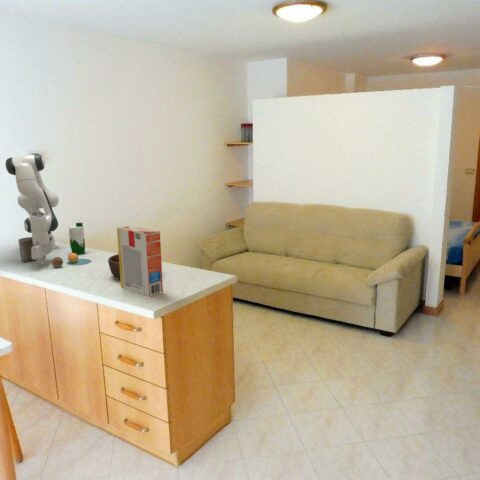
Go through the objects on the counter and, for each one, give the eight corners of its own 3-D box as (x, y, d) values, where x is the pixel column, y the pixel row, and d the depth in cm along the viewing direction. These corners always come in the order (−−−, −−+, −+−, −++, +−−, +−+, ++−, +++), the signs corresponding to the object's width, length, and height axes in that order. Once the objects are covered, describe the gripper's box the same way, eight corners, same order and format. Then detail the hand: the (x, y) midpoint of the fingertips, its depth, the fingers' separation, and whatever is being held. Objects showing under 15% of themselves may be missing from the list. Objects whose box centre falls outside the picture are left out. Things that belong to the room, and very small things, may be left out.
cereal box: (162, 292, 219) (159, 231, 213) (149, 296, 213) (145, 233, 207) (134, 283, 234) (130, 225, 228) (120, 287, 228) (116, 228, 222)
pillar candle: (41, 258, 286) (38, 235, 283) (32, 262, 277) (29, 238, 274) (26, 258, 287) (23, 235, 284) (17, 262, 278) (14, 238, 275)
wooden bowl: (145, 283, 234) (144, 264, 231) (100, 281, 239) (99, 262, 236) (163, 270, 258) (162, 252, 255) (122, 268, 262) (121, 250, 260)
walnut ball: (63, 259, 263) (66, 262, 269) (55, 253, 264) (57, 256, 269) (56, 268, 261) (59, 270, 267) (48, 262, 262) (51, 264, 267)
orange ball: (69, 250, 276) (79, 253, 278) (66, 260, 276) (76, 262, 279) (69, 253, 270) (79, 255, 272) (66, 263, 271) (77, 265, 273)
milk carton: (86, 254, 296) (83, 223, 292) (71, 255, 293) (68, 225, 289) (84, 251, 304) (82, 221, 300) (70, 252, 301) (67, 222, 296)
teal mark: (66, 260, 280) (66, 260, 280) (90, 258, 285) (90, 258, 285) (67, 266, 268) (67, 265, 267) (92, 263, 273) (92, 263, 273)
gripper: (38, 244, 255) (40, 268, 258) (53, 236, 275) (55, 258, 278) (27, 244, 256) (29, 268, 258) (42, 236, 276) (45, 259, 278)
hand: (43, 263), depth 269 cm, fingers closed
